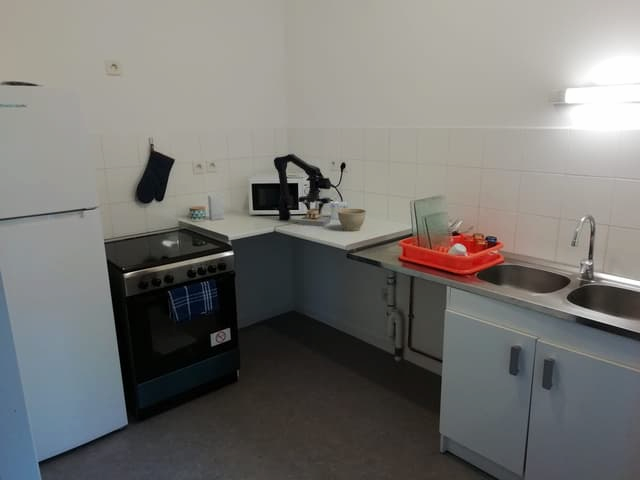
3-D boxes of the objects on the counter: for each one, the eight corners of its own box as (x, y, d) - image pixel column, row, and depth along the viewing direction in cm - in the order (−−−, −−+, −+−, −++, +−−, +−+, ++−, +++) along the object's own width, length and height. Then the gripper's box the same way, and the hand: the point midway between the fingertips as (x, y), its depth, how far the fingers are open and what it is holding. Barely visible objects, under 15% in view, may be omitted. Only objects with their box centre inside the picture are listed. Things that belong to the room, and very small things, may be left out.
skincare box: (221, 217, 322) (220, 193, 318) (224, 219, 316) (223, 195, 313) (208, 218, 318) (207, 194, 314) (211, 220, 313) (210, 196, 309)
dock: (298, 224, 300) (298, 219, 299) (305, 220, 312) (305, 215, 311) (323, 226, 295) (323, 220, 294) (330, 222, 307) (330, 216, 306)
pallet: (306, 217, 299) (306, 210, 298) (312, 214, 308) (312, 208, 307) (316, 218, 297) (316, 211, 296) (321, 215, 306) (321, 208, 305)
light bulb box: (347, 217, 321) (347, 201, 318) (347, 219, 314) (347, 203, 311) (331, 217, 322) (331, 201, 319) (330, 219, 315) (330, 202, 313)
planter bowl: (345, 225, 298) (345, 207, 295) (370, 228, 290) (370, 210, 287) (332, 230, 284) (332, 211, 282) (357, 233, 276) (358, 214, 274)
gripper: (294, 189, 294) (295, 215, 298) (324, 190, 288) (324, 217, 292) (301, 187, 304) (301, 212, 308) (330, 188, 298) (330, 213, 302)
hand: (314, 213), depth 302 cm, fingers closed on pallet, 6 cm apart
